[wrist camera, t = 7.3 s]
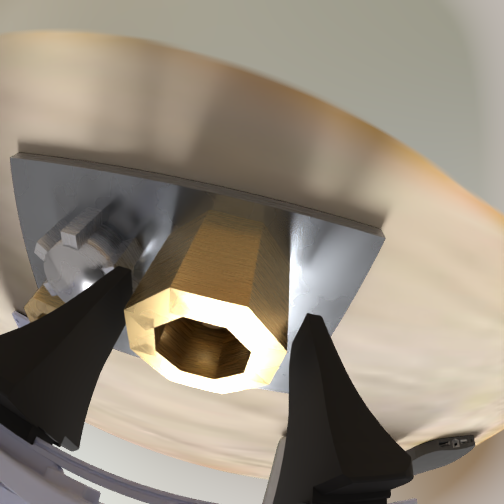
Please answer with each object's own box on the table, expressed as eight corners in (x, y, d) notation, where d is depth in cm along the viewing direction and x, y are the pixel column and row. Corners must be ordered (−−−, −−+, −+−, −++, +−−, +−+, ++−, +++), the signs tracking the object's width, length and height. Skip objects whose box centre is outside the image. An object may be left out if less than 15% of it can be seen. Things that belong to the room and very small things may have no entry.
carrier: (292, 385, 21) (289, 431, 18) (55, 316, 20) (32, 351, 17) (381, 229, 13) (406, 285, 10) (19, 152, 12) (-30, 181, 9)
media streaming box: (367, 467, 37) (368, 482, 34) (427, 436, 29) (430, 455, 26) (424, 463, 38) (426, 475, 36) (481, 431, 30) (484, 446, 27)
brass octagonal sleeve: (268, 319, 16) (259, 401, 12) (167, 294, 16) (133, 369, 11) (300, 231, 12) (303, 319, 8) (173, 201, 12) (119, 273, 8)
